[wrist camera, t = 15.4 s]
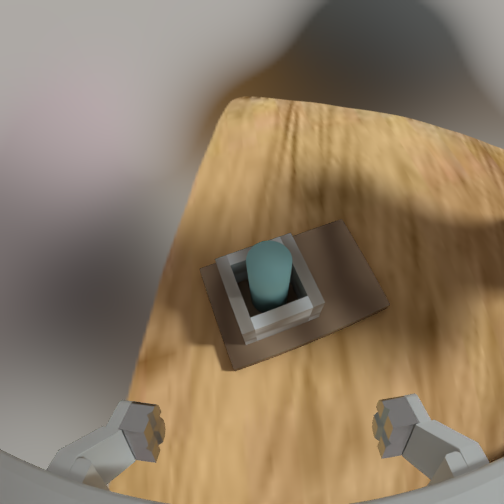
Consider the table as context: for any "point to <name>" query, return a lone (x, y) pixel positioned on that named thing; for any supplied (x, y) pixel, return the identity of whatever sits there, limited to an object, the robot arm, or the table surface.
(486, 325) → the table surface
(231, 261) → the walnut socket board
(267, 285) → the teal rounded oblong piece
